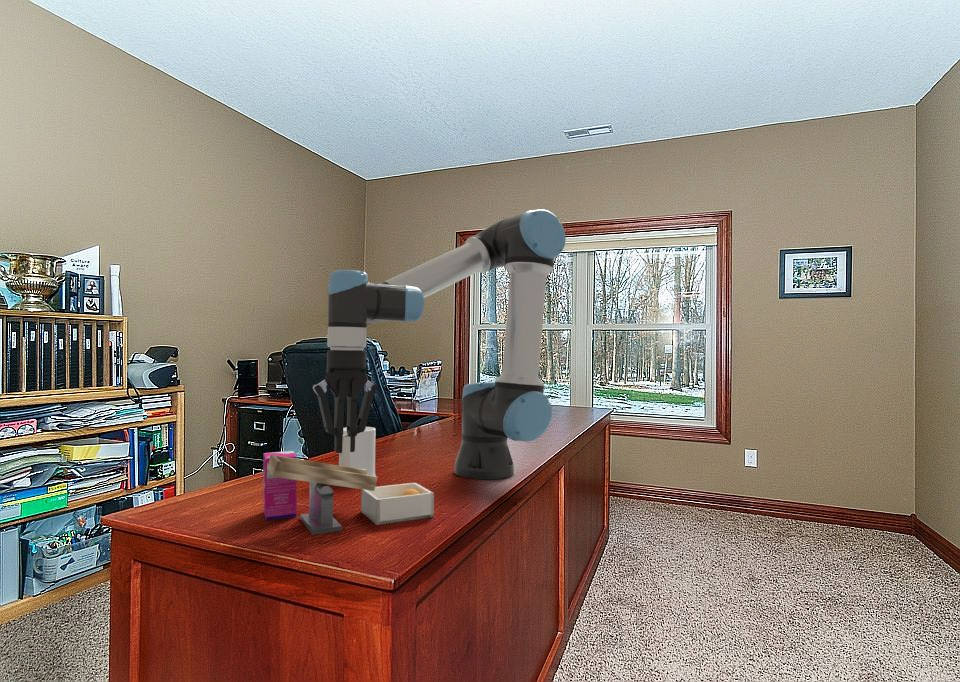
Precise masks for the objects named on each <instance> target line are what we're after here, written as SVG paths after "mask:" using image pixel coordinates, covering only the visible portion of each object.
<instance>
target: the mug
mask: <svg viewBox="0 0 960 682" xmlns="http://www.w3.org/2000/svg"><path fill="white" fill-rule="evenodd" d="M376 431H377V430H376V427H372V426H366V428H365V431H364V432H360V433H358V434H357V435H356V436H355V451H354V452H350V467H352V468H358V469H365V470H367V473H366V475H371V476H376ZM343 435H347V426H346V427H343Z"/></svg>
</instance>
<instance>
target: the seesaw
mask: <svg viewBox="0 0 960 682" xmlns="http://www.w3.org/2000/svg"><path fill="white" fill-rule="evenodd" d="M267 469H268V471H269V472H270V473H271V474H272V476H273V477H278V478H286V479H293V480H297V481H300V482H301V481H302V482H308V483H309V482H314V483H321V484H327V485H328V486H329V485H330V486H335V487H336V486H337V487H345V488H351V489H357V490H362V489H364V490H371V491H374V490H375V487H377V481H378V479H379V477H378V476H371V475H366V473H367V470H365V469H358V468H352V467H346V466H339V464H332V463H326V462H320V461H315V460H308V459H307V460H306V459H301V458H297V459H295V458H289V457H282V456H276V455H270V459H269V462H268V466H267Z"/></svg>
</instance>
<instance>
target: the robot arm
mask: <svg viewBox="0 0 960 682" xmlns="http://www.w3.org/2000/svg"><path fill="white" fill-rule="evenodd" d="M566 240H567V239H566V232H565V229H564V226H563V224H562V222H560V220H559V218H558V216H556V215H555V213H553V212H551V211H549V210H547V209H541V208H540V209H532V210H527V211H525V212H523V213H520V214H517V215H514V216H510V217H507V218H502V219H501V220H498V221H497V222H495V223H493V224H492V225H490V226H488V227H486V228H485V229H484V230H482V231H480V232H478V233H476V234H474V235H472V236H469V237H468V238H467V239H466V240H465V243H464V244H462V245H460V246H458V247H456V248H454V249H452V250H450V251H447V252H444V253H442V254H441V255H438V256H437V257H434V258H432V259H430V260H428V261H426V262H424V263H421V264H420V265H417V266H415V267H413V268H411V269H409V270H406V271H404V272H402V273H400V274H398V275H395V276H393V277H391V278H388V279H387V280H385V281H383V282H381V283H374V282H369V281H370V280H369V277H368V273H367V272H365V271H363V270H362V271H361V270H358V269H357V270H355V269H336V270H334V271H331V273H330V275H329V281H328V289H327V291H328V292H327V342H326V346H327V347H328V348H329V349H330V350H329V349H328V351H326V371H325V374H324V376H323V380H321V381H320V382H318V383H317V384H313V385H312V387H311V388H312V389H311V390H313V392H314V393H315V395H316V396H317V402H318V405H319V409H320V414H321V418H322V423H323V424H322V425H323V427H324V431H325V432H326V433H328V434H330V435H333V436H334V437H333V438H334V447H333V449H334V452H335V453H336V454H338V465H339V466H346V467H350V452H354V451H355V436H356V435H357V434H358V433H360V432H364V431H365V428H366V427H367V424H368V419H369V414H370V411H371V409H372V404H373V400H374V396H375V394H376V393H377V391H378V390H379V389H380V387H379V385H378V384H376V383H374V382H372V381H370V380H369V377H368V374H367V370H366V369H367V352H366V351H365V350H364V349H365V348H366V347H367V327H368V324H370V325H371V324H375V323H390V322H400V323H401V322H403V323H407V322H409V323H410V322H411V323H412V322H413V323H414V322H415V323H416V322H417V321H419V320H420V319H421V317H422V315H423V314H424V310H425V298H428V297H429V296H432V295H434V294H435V293H437V292H440V291H441V290H444V289H446V288H448V287H450V286H452V285H454V284H456V283H458V282H460V281H462V280H464V279H466V278H468V277H471V276H472V275H474V274H476V273H480V274H485V273H487V272H490V271H492V270H495V269H498V268H500V267H501V268H502V267H505V269H506V271H507V272H509V275H510V277H509V286H508V287H509V288H508V299H507V311H506V312H507V313H506V323H505V333H504V335H505V336H504V347H503V348H504V349H503V358H502V359H503V360H502V369H501V370H502V371H501V374H500V375H499V376H498V377H497V378H496V379H494V381H487V382H472V383H467V384H465V385H464V386H463V388H462V395H461V404H462V405H461V408H462V409H461V444H460V447H459V450H458V453H457V456H456V459H455V462H454V474H455V475H456V476H459V477H461V478H468V479H474V480H499V478H500V479H505V477H506V478H509V477H512V476H514V474H515V473H514V472H515V470H514V469H515V465H514V462H513V458H512V455H511V451H510V447H509V445H508V439H509V440H511V441H515V442H525V443H527V442H532V441H535V440H537V439H539V438H540V437H541V436H542V435H543V434H544V433H545V432H546V431H547V429H548V428H549V426H550V423H551V421H552V417H553V408H552V404H551V402H550V400H549V398H548V397H547V396H546V395H545V394H544V392H545V391H544V389H545V384H544V382H543V381H542V379H540V376H539V374H540V359H541V350H542V349H541V347H542V334H543V321H544V310H545V297H546V285H547V277H548V276H549V274H551V273H552V272H553V271H554V265H555V258H557V257H559V255H560V254H561V253H562V252H563V250H564V248H565V245H566ZM327 387H328V389H329V390H330V391H331V393H332V394H333V400H334V409H333V412H334V413H333V416H334V417H333V420H332V414H331V410H330V406H329V401H328V397H327V395H326V392H327V391H328V390H327ZM362 389H364V394H363V396H362V400H361V405H360V409H359V412H358V414H357V410H358V408H357V404H358V395H359V393H360V392H361V391H362ZM345 398H346V399H345ZM346 400H347V401H346ZM345 401H346V403H347V405H346V407H347V408H346V427H347V435H343V428H344V424H345V423H344V422H345V421H344V420H345V419H344V418H345V414H344V413H345V409H344V407H345ZM357 415H358V417H357ZM511 475H512V476H511Z"/></svg>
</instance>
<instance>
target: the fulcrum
mask: <svg viewBox="0 0 960 682" xmlns="http://www.w3.org/2000/svg"><path fill="white" fill-rule="evenodd" d="M308 485H309V493H308V494H309V500H308V501H309V502H308V503H309V504H308V505H309V506H308V513H301V514H300V515H299V516H300V518H299V519H300V521H301V522H302V523H303V524H304V526H305V527H306V529H307V530H308V532H309V533H310V534H311V535H312V536H314V535H322V534H328V533H336V532H343V531H342V530H343V526H342V525H341V523H340V522H339V521H338V520H337V519H336V518H335V517H334V495H335V494H334V493H335V492H334V489H333V488H332V487H330V486H329V485H328V484H321V483H314V482H308Z"/></svg>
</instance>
